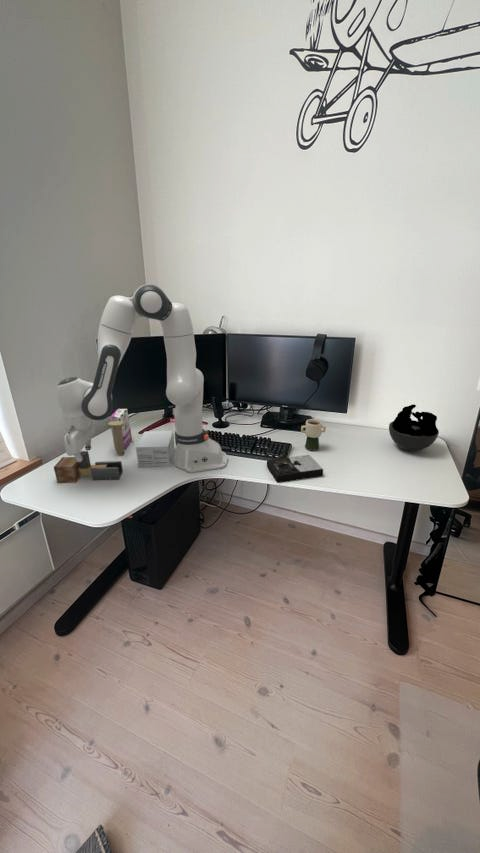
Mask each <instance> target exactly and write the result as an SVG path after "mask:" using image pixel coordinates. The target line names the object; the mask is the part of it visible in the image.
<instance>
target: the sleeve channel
mask: <svg viewBox="0 0 480 853" xmlns="http://www.w3.org/2000/svg"><path fill="white" fill-rule="evenodd" d="M103 464H107V465H108V467H105V468H91V473H92V478H91V479H92V481H93V482H95V481H96V482H97V481H100V482H101V481H119V480H120V479H121V477H122V476H123V473H124V469H123V463H122V460H119V461H118V460H117V461H115V460H113V461H109V460H108V461H95V462H94V465H103Z"/></svg>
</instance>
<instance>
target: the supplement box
mask: <svg viewBox="0 0 480 853" xmlns="http://www.w3.org/2000/svg"><path fill="white" fill-rule="evenodd" d="M135 452H136V459H137V460H136V461H137V467H138V468H140V467H141V468H145V467H147V468H151V467H152V468H153V467H160V468H161V467H170V465H171V461H172V458H173V455H174V452H175V434H174V430H158V431H157V430H156V431H155V430H154V431H153V430H152V431H151V430H150V431H144V432H143V433H142V436H141V438H140V439H139V442H138V444H137V445H136V447H135Z"/></svg>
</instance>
